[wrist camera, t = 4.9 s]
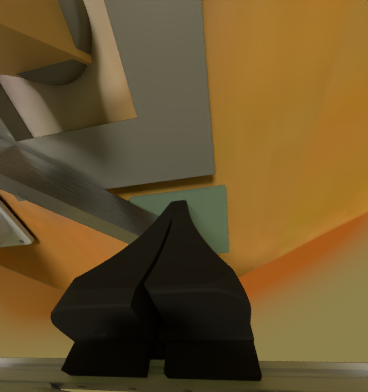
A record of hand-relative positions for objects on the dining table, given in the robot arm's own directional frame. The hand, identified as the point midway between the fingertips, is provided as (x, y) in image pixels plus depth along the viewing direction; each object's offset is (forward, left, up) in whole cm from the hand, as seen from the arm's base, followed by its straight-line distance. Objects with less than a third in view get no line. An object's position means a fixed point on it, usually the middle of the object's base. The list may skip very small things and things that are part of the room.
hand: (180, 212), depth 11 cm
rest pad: (0, -3, -2) cm, 4 cm away
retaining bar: (-6, +2, -1) cm, 6 cm away
